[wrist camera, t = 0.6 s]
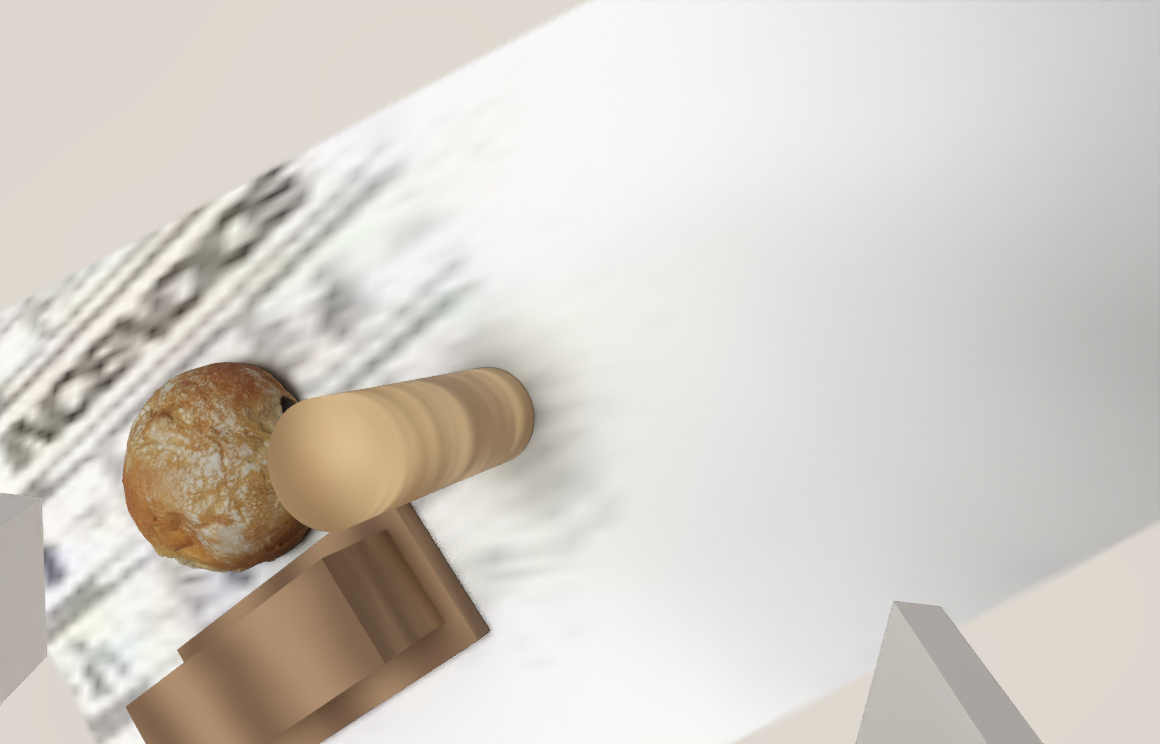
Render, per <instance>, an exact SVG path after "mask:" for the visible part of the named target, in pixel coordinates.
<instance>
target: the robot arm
mask: <svg viewBox="0 0 1160 744" xmlns="http://www.w3.org/2000/svg"><path fill="white" fill-rule="evenodd" d="M46 657H47V643H46V613H45V583H44V552H43V522H42V498H38V497H29V496H21V495H13V494H5V493H0V704H1V703H2V702H3V701H4V700H5V699H6V698H7V697H8V696H9V695H10V694H11V693H12V692H13V691H14V690H15V689H16V688H17V686H19V685H20V684H21V682H22V681H24V680H25V679H26V678H27V676H28V675H29V674H30V673H31V672H32V671H33V670H34V669H35V668H36V667H37V666H38V665H39V664H40V663H41V662H42V661H43V660H44V659H45V658H46ZM856 744H1043V743H1042V742H1041V740H1040V739H1039V738H1038V736H1037V735H1036V734H1035V732H1034V731H1033V730H1032V728H1031V727H1030V725H1029V724H1028V723H1027V721H1026V720H1025V719H1024V717H1023V716H1022V715H1021V713H1020V712H1019V711H1018V709H1017V708H1016V707H1015V706H1014V704H1013V703H1012V701H1011V700H1010V699H1009V697H1008V696H1007V695H1006V693H1005V692H1004V691H1003V689H1002V688H1001V687H1000V685H999V684H998V683H997V681H996V680H995V679H994V677H993V676H992V675H991V673H990V672H989V670H988V669H987V668H986V667H985V665H984V664H983V663H982V661H981V660H980V658H979V657H978V656H977V655H976V653H975V652H974V650H973V649H972V648H971V646H970V645H969V644H968V642H967V641H966V640H965V638H964V637H963V636H962V634H961V633H960V632H959V630H958V629H957V628H956V626H955V625H954V624H953V622H952V621H951V619H950V618H949V617H948V615H947V614H946V613H945V611H944V610H943V609H942V607H939V606H931V605H923V604H915V603H906V602H898V601H893V605H892V608H891V612H890V616H889V620H888V623H887V627H886V631H885V635H884V639H883V642H882V646H881V650H880V654H879V657H878V661H877V665H876V669H875V672H874V676H873V680H872V684H871V687H870V691H869V695H868V699H867V703H866V706H865V710H864V714H863V718H862V721H861V725H860V729H859V733H858V737H857V740H856Z"/></svg>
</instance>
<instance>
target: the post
mask: <svg viewBox="0 0 1160 744" xmlns="http://www.w3.org/2000/svg"><path fill="white" fill-rule="evenodd" d="M533 427H534V410H533V405H532V402H531V399H530V396H529V394H528V392H527V391H526V389H525V388H524V386H523V385H522V384H521V382H520V381H519V380H518V379H517V378H515V377H514V376H513V375H511V374H510V373H508V372H506V371H504V370H501V369H498V368H493V367H483V368H477V369H471V370H466V371H460V372H455V373H449V374H443V375H438V376H432V377H427V378H421V379H416V380H410V381H405V382H399V383H394V384H388V385H383V386H377V387H372V388H366V389H360V390H355V391H349V392H344V393H338V394H333V395H327V396H322V397H316V398H311V399H306V400H303V401H300V402H298V403H296V404H294V405H293V406H291V407H290V408H289V409H287V410H286V411H285V412H284V413H283V415H282V416H281V417H280V419H279V420H278V421H277V423H276V425H275V427H274V429H273V431H272V434H271V437H270V441H269V447H268V470H269V475H270V479H271V483H272V486H273V488H274V491H275V493H276V495H277V497H278V498H279V500H280V502H281V503H282V505H283V506H284V508H285V509H286V510H287V511H288V512H289V513H290V514H291V515H292V516H293V517H294V518H295V519H296V520H298V521H299V522H301V523H302V524H304V525H306V526H308V527H310V528H312V529H315V530H319V531H325V532H334V531H340V530H344V529H347V528H349V527H352V526H354V525H356V524H359V523H361V522H364V521H366V520H368V519H371V518H373V517H375V516H378V515H380V514H383V513H385V512H387V511H390V510H392V509H395V508H397V507H399V506H402V505H404V504H407V503H409V502H411V501H414V500H416V499H419V498H421V497H423V496H426V495H428V494H430V493H433V492H435V491H438V490H440V489H442V488H445V487H447V486H450V485H452V484H454V483H457V482H459V481H462V480H464V479H466V478H469V477H471V476H474V475H476V474H478V473H481V472H483V471H485V470H488V469H490V468H493V467H495V466H497V465H500V464H502V463H505V462H507V461H509V460H511V459H513V458H515V457H516V456H517V455H519V454H520V453H521V452H522V451H523V450H524V448H525V447H526V445H527V444H528V442H529V440H530V438H531V435H532V432H533Z"/></svg>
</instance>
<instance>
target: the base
mask: <svg viewBox="0 0 1160 744" xmlns="http://www.w3.org/2000/svg"><path fill="white" fill-rule="evenodd" d="M489 631H490V630H489V628H488V627H487V625H486V624H485V622H484V620H483V619H482V617H481V616H480V614H479V613H478V611H477V609H476V608H475V606H474V605H473V603H472V601H471V600H470V598H469V597H468V595H467V593H466V592H465V590H464V589H463V587H462V586H461V584H460V582H459V581H458V579H457V578H456V576H455V574H454V573H453V571H452V570H451V568H450V566H449V565H448V563H447V562H446V560H445V558H444V557H443V555H442V554H441V552H440V551H439V549H438V547H437V546H436V544H435V543H434V541H433V539H432V538H431V536H430V535H429V533H428V531H427V530H426V528H425V527H424V525H423V524H422V522H421V520H420V519H419V517H418V516H417V514H416V512H415V511H414V509H413V508H412V506H411V504H410V503H407V504H404V505H402V506H399V507H397V508H395V509H392V510H390V511H387V512H385V513H383V514H380V515H378V516H375V517H373V518H371V519H368V520H366V521H364V522H361V523H359V524H356V525H354V526H352V527H349V528H347V529H344V530H340V531H334V532H330V533H329V534H327V535H326V536H325V537H323V538H322V539H321V540H320V541H318V542H317V543H316V544H314V545H313V546H312V547H310V548H309V549H308V550H307V551H305V552H304V553H303V554H301V555H300V556H299V557H297V558H296V559H295V560H294V561H292V562H291V563H290V564H288V565H287V566H286V567H284V568H283V569H282V570H280V571H279V572H278V573H277V574H275V575H274V576H273V577H271V578H270V579H269V580H267V581H266V582H265V583H264V584H262V585H261V586H260V587H258V588H257V589H256V590H254V591H253V592H252V593H251V594H249V595H248V596H247V597H245V598H244V599H243V600H241V601H240V602H239V603H238V604H236V605H235V606H234V607H232V608H231V609H230V610H228V611H227V612H226V613H225V614H223V615H222V616H221V617H219V618H218V619H217V620H215V621H214V622H213V623H212V624H210V625H209V626H208V627H206V628H205V629H204V630H202V631H201V632H200V633H199V634H197V635H196V636H195V637H193V638H192V639H191V640H189V641H188V642H187V643H186V644H184V645H183V646H182V647H180V648H179V649H178V650H177V651H178V652H179V654H180V656H181V658H182V659H183V661H184V663H183V664H181V665H180V666H179V667H178V668H176V669H175V670H174V671H172V672H171V673H170V674H168V675H167V676H166V677H164V678H163V679H162V680H160V681H159V682H158V683H156V684H155V685H154V686H152V687H151V688H150V689H148V690H147V691H146V692H145V693H143V694H142V695H141V696H139V697H138V698H137V699H135V700H134V701H133V702H131V703H130V704H129V705H127V706H126V709H127V711H128V712H129V714H130V716H131V718H132V720H133V721H134V723H135V725H136V727H137V729H138V730H139V732H140V734H141V736H142V738H143V739H144V741H145V743H146V744H319V743H321V742H322V741H324V740H325V739H327V738H328V737H330V736H332V735H333V734H335V733H336V732H338V731H339V730H341V729H342V728H344V727H345V726H347V725H349V724H350V723H352V722H353V721H355V720H356V719H358V718H359V717H361V716H362V715H364V714H365V713H367V712H369V711H370V710H372V709H373V708H375V707H376V706H378V705H379V704H381V703H382V702H384V701H386V700H387V699H389V698H390V697H392V696H393V695H395V694H396V693H398V692H399V691H401V690H402V689H404V688H406V687H407V686H409V685H410V684H412V683H413V682H415V681H416V680H418V679H419V678H421V677H422V676H424V675H426V674H427V673H429V672H430V671H432V670H433V669H435V668H436V667H438V666H439V665H441V664H443V663H444V662H446V661H447V660H449V659H450V658H452V657H453V656H455V655H456V654H458V653H459V652H461V651H463V650H464V649H466V648H467V647H469V646H470V645H472V644H473V643H475V642H476V641H478V640H479V639H480V638H482V637H483V636H484V635H486V634H487V633H488V632H489Z"/></svg>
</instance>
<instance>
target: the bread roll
mask: <svg viewBox="0 0 1160 744" xmlns="http://www.w3.org/2000/svg"><path fill="white" fill-rule="evenodd" d="M296 403H298V401H297V400H296V399H295V398H294V397H293V396H292V395H291V394H290V393H289V392H288V391H286V390H285V389H284V387H283V386H282V385H281V383H279V382H278V381H277V380H276V379H275V378H274V377H273V376H272V375H271V374H270V373H268V372H267V371H265V370H263V369H261V368H259V367H256V366H252V365H248V364H243V363H233V362H222V363H214V364H210V365H206V366H203V367H199V368H196V369H192V370H189V371H187V372H185V373H182V374H180V375H178V376H176V377H174V378H173V379H171V380H169V381H168V382H167V383H166V384H164V385H163V386H162V387H161V388H160V389H158V390H157V391H156V392H155V393H154V395H153V396H152V397H151V398H150V399H149V400H148V402H147V403H146V404H145V405H144V407H143V409H142V410H141V412H140V413H139V414H138V416H137V417H136V419H135V420H134V422H133V424H132V427H131V431H130V435H129V438H128V442H127V451H126V455H125V462H124V469H123V479H122V482H123V485H124V491H125V498H126V504H127V507H128V511H129V513H130V515H131V517H132V518H133V520H134V521H135V523H136V525H137V527H138V529H139V531H141V533H142V534H143V536H144V537H145V538H146V539H147V540H148V541H149V542H150V543H151V544H152V546H153V547H154V549H155V550H156V552H157V554H158V555H160V556H161V557H163V556H166V557H168V558H175V559H176V560H177V561H178V562H179V563H180V564H182V565H187V566H189V567H192V568H196V569H197V568H201V569H207V570H211V571H217V572H223V573H225V572H227V571H234V572H242V571H245V570H247V569H249V568H251V567H254V566H255V565H257V564H259V563H262V562H266V561H267V562H270V561H274V560H275V559H276V558H278V557H280V556H282V555H284V554H285V553H287V552H288V551H290V550H291V549H293V548H294V547H295V546H296V545H297V544H298V543H300V542H301V541H302V537H303V536H304V534H305V533H306V532H307V529H308V528H309V527H308V526H306V525H304V524H302V523H301V522H299V521H298V520H296V519H295V518H294V517H293V516H292V515H291V514H290V513H289V512H288V511H287V510H286V509H285V508H284V506H283V505H282V503H281V502H280V500H279V498H278V497H277V495H276V493H275V491H274V488H273V486H272V483H271V479H270V475H269V470H268V447H269V441H270V437H271V434H272V431H273V429H274V427H275V425H276V423H277V421H278V420H279V419H280V417H281V416H282V415H283V413H284V412H285V411H286V410H287V409H289V408H290V407H291V406H293V405H294V404H296Z"/></svg>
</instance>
